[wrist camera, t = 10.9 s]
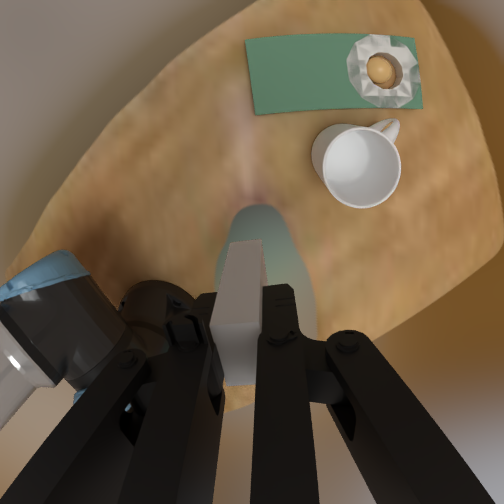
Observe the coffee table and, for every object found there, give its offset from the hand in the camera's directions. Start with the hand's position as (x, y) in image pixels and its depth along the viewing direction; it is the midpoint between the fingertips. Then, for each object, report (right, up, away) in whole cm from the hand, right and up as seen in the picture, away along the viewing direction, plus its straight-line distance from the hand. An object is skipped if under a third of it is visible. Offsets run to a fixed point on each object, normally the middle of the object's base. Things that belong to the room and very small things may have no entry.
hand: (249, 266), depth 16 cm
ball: (+16, +24, +17) cm, 34 cm away
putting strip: (+11, +24, +20) cm, 33 cm away
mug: (+13, +15, +24) cm, 31 cm away
